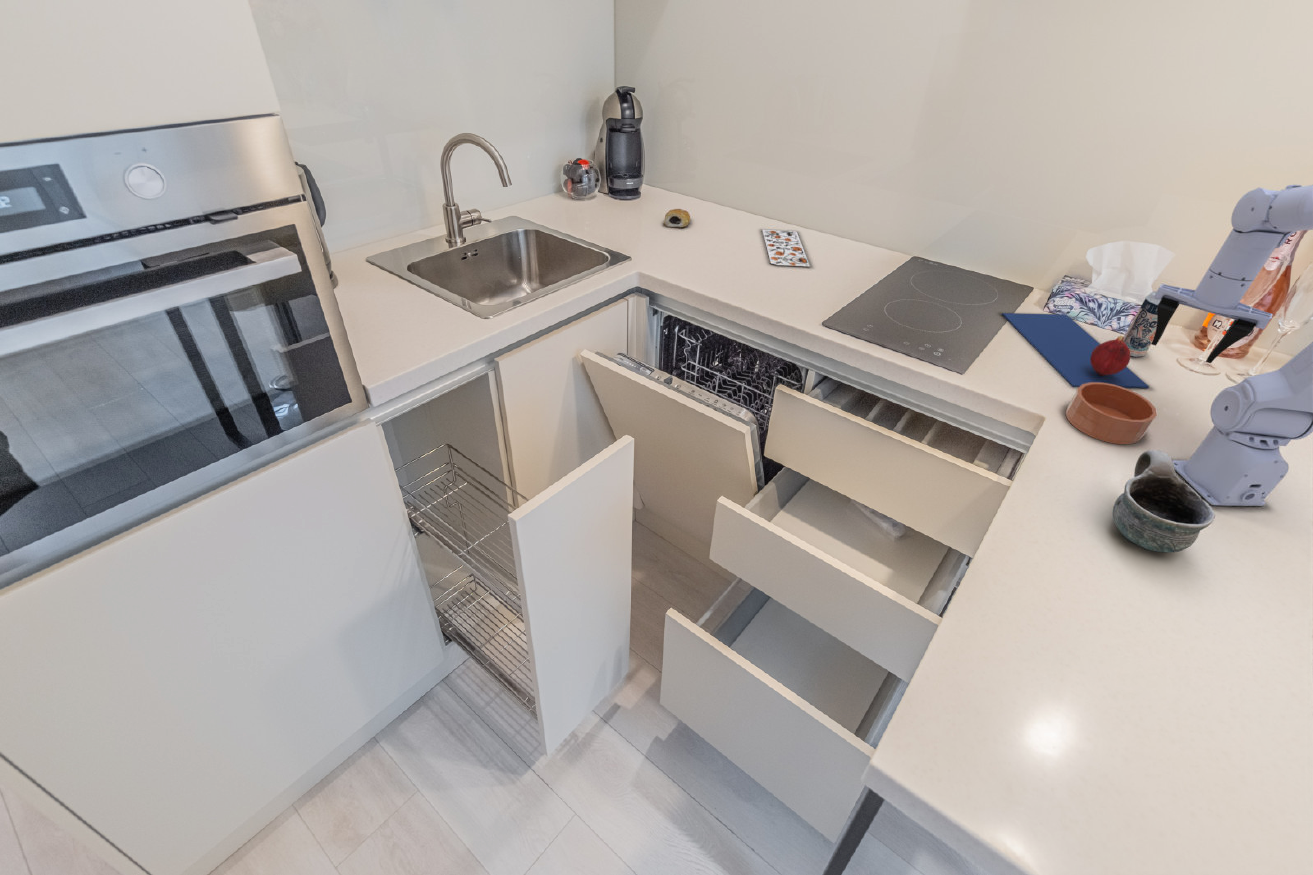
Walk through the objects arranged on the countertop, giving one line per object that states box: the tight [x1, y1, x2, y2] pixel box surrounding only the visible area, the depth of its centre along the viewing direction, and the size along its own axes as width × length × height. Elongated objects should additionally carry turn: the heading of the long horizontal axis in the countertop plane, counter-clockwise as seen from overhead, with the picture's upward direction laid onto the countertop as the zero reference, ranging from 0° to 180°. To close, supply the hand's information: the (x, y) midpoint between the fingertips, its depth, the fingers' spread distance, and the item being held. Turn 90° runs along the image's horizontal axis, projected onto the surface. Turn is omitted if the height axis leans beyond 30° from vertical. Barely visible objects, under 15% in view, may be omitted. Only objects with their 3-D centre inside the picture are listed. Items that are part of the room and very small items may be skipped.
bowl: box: [1065, 382, 1158, 445], centre depth 102 cm, size 11×11×4 cm
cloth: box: [1002, 312, 1150, 389], centre depth 123 cm, size 28×14×1 cm, turn 1°
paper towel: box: [761, 229, 811, 267], centre depth 160 cm, size 24×1×9 cm
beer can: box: [1123, 291, 1161, 358], centre depth 119 cm, size 5×5×12 cm
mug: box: [1111, 449, 1216, 553], centre depth 81 cm, size 10×12×10 cm
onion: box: [1090, 335, 1131, 376], centre depth 112 cm, size 6×6×8 cm
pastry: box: [663, 208, 691, 228], centre depth 171 cm, size 9×7×4 cm
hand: (1181, 351), depth 102 cm, fingers open, 7 cm apart
